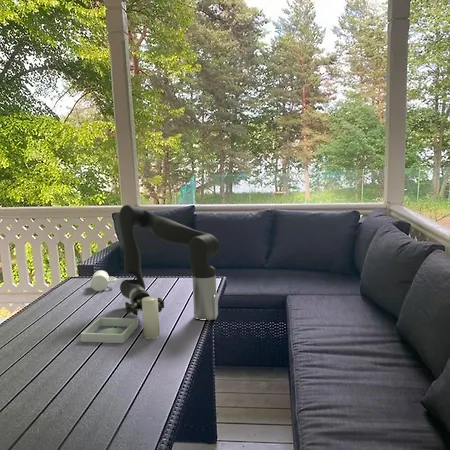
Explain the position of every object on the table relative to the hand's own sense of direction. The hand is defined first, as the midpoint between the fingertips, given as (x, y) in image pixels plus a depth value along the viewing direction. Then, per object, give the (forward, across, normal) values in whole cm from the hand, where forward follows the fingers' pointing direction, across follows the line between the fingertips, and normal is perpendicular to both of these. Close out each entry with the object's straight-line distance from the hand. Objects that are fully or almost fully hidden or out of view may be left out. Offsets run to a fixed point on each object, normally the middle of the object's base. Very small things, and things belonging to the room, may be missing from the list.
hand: (148, 311), depth 162 cm
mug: (-66, -9, +8) cm, 67 cm away
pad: (-5, -13, +8) cm, 16 cm away
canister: (+4, 0, +8) cm, 9 cm away
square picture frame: (-5, -13, +8) cm, 16 cm away
